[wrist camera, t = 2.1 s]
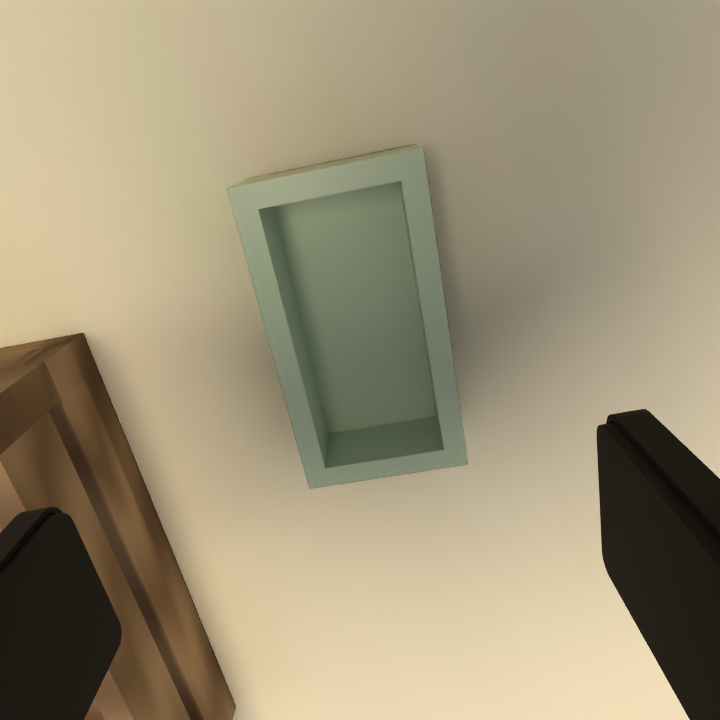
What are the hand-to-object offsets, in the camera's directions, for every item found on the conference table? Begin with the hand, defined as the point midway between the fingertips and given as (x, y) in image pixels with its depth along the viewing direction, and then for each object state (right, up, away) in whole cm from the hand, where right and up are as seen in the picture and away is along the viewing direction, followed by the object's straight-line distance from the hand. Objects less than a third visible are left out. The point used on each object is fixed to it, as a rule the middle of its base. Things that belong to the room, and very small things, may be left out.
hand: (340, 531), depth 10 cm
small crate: (0, +5, +10) cm, 11 cm away
